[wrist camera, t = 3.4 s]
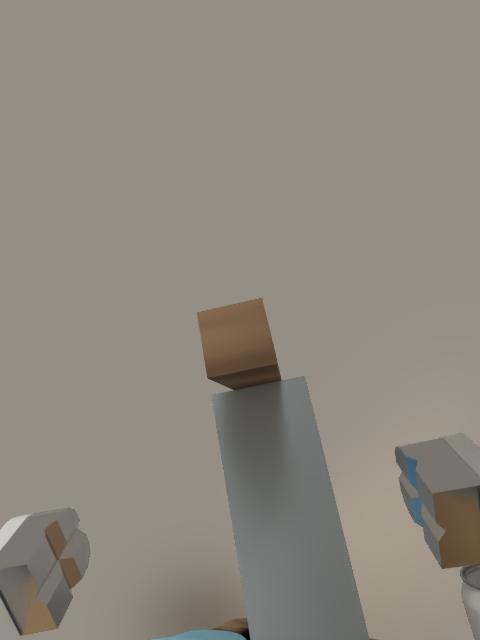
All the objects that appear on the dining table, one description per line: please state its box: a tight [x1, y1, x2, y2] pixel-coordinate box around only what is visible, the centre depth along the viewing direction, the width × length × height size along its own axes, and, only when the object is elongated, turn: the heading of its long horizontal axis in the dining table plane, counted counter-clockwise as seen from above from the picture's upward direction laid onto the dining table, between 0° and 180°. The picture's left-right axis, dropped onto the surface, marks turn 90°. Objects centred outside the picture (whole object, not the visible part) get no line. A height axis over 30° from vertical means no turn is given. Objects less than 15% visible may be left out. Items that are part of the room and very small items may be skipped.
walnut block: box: [197, 298, 282, 390], centre depth 27 cm, size 20×4×4 cm, turn 172°
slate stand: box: [212, 376, 369, 640], centre depth 28 cm, size 7×16×29 cm, turn 172°
